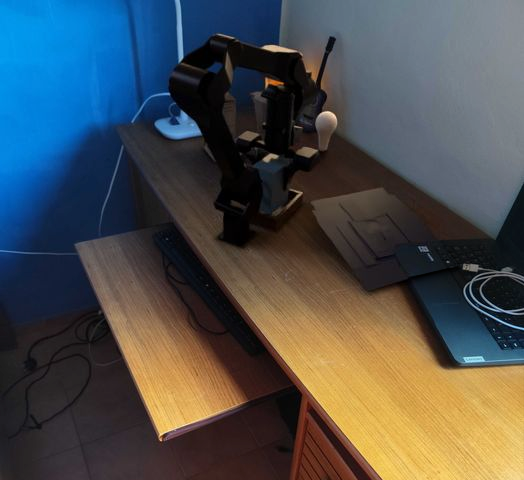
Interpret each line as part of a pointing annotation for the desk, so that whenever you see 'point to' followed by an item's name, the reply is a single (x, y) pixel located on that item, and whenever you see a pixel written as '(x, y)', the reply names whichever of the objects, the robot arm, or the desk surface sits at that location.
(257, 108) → the coffeepot
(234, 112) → the coffee box
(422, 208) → the desk surface
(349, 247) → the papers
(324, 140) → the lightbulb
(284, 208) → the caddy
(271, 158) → the tabbed grey block
